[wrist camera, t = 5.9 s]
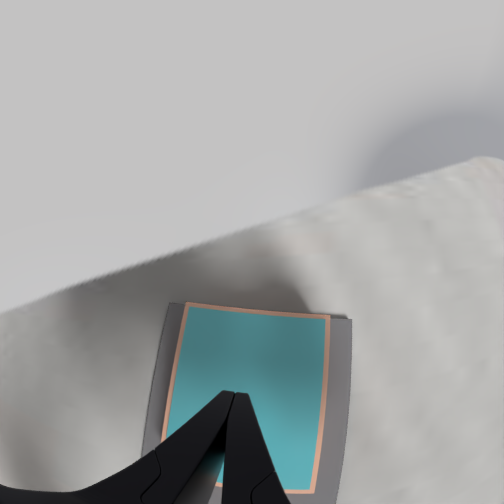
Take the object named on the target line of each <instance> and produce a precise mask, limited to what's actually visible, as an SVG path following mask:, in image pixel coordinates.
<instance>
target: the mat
mask: <svg viewBox="0 0 504 504" xmlns="http://www.w3.org/2000/svg"><path fill="white" fill-rule="evenodd" d="M184 309H185V305H184V304H176V303H170V304H169V308H168V312H167V316H166V321H165V325H164V330H163V334H162V339H161V344H160V348H159V353H158V358H157V363H156V368H155V374H154V379H153V385H152V390H151V396H150V402H149V408H148V415H147V422H146V428H145V436H144V443H143V452H142V457H143V456H145V455H146V454H147V453H149V452H150V451H151V450H152V449H154V448H155V447H156V446H158V445H159V444H160V443H161V438H162V431H163V424H164V417H165V410H166V404H167V398H168V392H169V386H170V380H171V375H172V369H173V363H174V358H175V353H176V348H177V343H178V338H179V333H180V328H181V323H182V318H183V313H184ZM351 360H352V319H336V318H330V347H329V368H328V384H327V397H326V409H325V419H324V429H323V437H322V445H321V453H320V460H319V467H318V474H317V480H316V486H315V492H314V493H312V494H291V493H286V495H287V497H288V499H289V501H290V502H291V504H336V500H337V494H338V489H339V484H340V478H341V472H342V465H343V458H344V451H345V443H346V434H347V424H348V414H349V401H350V385H351ZM154 450H155V449H154ZM221 498H222V487H219V486H215V487H214V490H213V492H212V495H211V498H210V500H209V503H208V504H221Z"/></svg>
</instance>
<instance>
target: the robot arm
mask: <svg viewBox="0 0 504 504" xmlns="http://www.w3.org/2000/svg"><path fill="white" fill-rule="evenodd" d="M154 449H155V450H154ZM154 449H152V450H151V451H150V452H149V453H147V454H146V455H145V456H143V457H142V458H140V459H139V460H138V461H136V462H135V463H133V464H132V465H130V466H128V467H127V468H125V469H123V470H121V471H120V472H118V473H116V474H114V475H112V476H110V477H108V478H106V479H104V480H102V481H100V482H98V483H96V484H94V485H91V486H89V487H87V488H85V489H82V490H78V491H73V492H45V491H32V490H23V489H15V488H10V487H6V486H3V485H1V484H0V504H208V503H209V500H210V498H211V495H212V492H213V490H214V487H215V484H216V482H217V479H218V476H219V473H220V471H221V468H222V465H223V462H224V469H223V483H222V498H221V504H291V502H290V501H289V499H288V497H287V495H286V493H285V491H284V489H283V487H282V484H281V482H280V480H279V477H278V475H277V472H275V471H276V470H275V467H274V464H273V462H272V459H271V456H270V454H269V451H268V448H267V445H266V443H265V440H264V437H263V434H262V431H261V428H260V426H259V423H258V420H257V417H256V414H255V411H254V408H253V405H252V402H251V399H250V396H249V394H248V393H242V392H236V393H235V392H234V391H227V390H222V391H221V392H220V393H219V394H217V395H216V396H215V397H214V398H213V399H212V400H211V401H210V402H209V403H207V404H206V405H205V406H204V407H203V408H202V409H201V410H200V411H198V412H197V413H196V414H195V415H194V416H193V417H192V418H190V419H189V420H188V421H187V422H186V423H185V424H183V425H182V426H181V427H180V428H179V429H177V430H176V431H175V432H174V433H173V434H171V435H170V436H169V437H168V438H166V439H165V440H164V441H163V442H161V443H160V444H159V445H158V446H156V447H155V448H154Z"/></svg>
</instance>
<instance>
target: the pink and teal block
mask: <svg viewBox="0 0 504 504" xmlns="http://www.w3.org/2000/svg"><path fill="white" fill-rule="evenodd" d="M329 347H330V315H321V314H304V313H290V312H277V311H266V310H255V309H244V308H235V307H225V306H216V305H208V304H200V303H192V302H186V304H185V309H184V313H183V318H182V323H181V328H180V333H179V338H178V343H177V348H176V353H175V358H174V363H173V369H172V375H171V380H170V386H169V392H168V398H167V404H166V410H165V417H164V424H163V431H162V438H161V442H163V441H164V440H165V439H166V438H168V437H169V436H170V435H171V434H173V433H174V432H175V431H176V430H177V429H179V428H180V427H181V426H182V425H183V424H185V423H186V422H187V421H188V420H189V419H190V418H192V417H193V416H194V415H195V414H196V413H197V412H198V411H200V410H201V409H202V408H203V407H204V406H205V405H206V404H207V403H209V402H210V401H211V400H212V399H213V398H214V397H215V396H216V395H217V394H219V393H220V392H221V391H222V390H227V391H234V392H235V393H236V392H242V393H248V394H249V396H250V399H251V402H252V405H253V408H254V411H255V414H256V417H257V420H258V423H259V426H260V428H261V431H262V434H263V437H264V440H265V443H266V445H267V448H268V451H269V454H270V456H271V459H272V462H273V464H274V467H275V470H276V471H275V472H277V475H278V477H279V480H280V482H281V484H282V487H283V489H284V491H285V493H291V494H312V493H314V492H315V486H316V480H317V474H318V467H319V460H320V453H321V445H322V437H323V429H324V419H325V409H326V397H327V384H328V368H329ZM223 469H224V462H223V465H222V468H221V471H220V473H219V476H218V479H217V482H216V484H215V486H219V487H222V483H223Z"/></svg>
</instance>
